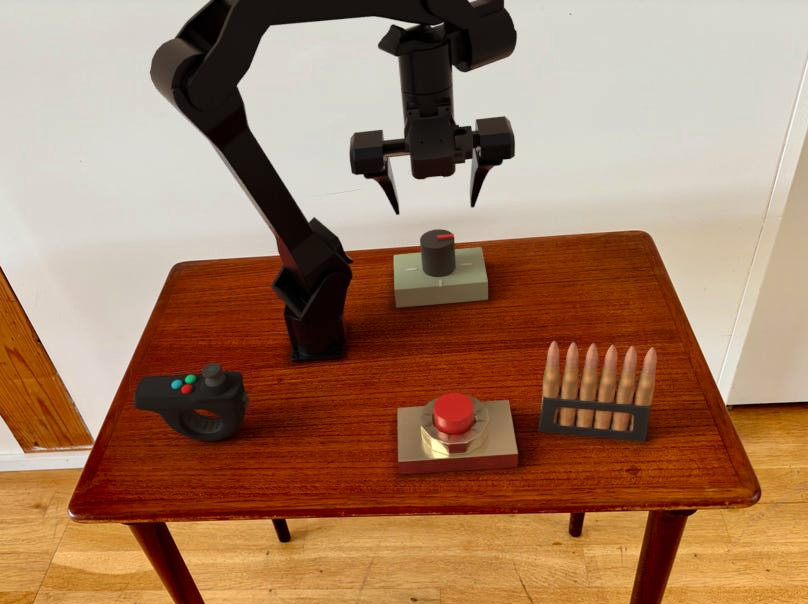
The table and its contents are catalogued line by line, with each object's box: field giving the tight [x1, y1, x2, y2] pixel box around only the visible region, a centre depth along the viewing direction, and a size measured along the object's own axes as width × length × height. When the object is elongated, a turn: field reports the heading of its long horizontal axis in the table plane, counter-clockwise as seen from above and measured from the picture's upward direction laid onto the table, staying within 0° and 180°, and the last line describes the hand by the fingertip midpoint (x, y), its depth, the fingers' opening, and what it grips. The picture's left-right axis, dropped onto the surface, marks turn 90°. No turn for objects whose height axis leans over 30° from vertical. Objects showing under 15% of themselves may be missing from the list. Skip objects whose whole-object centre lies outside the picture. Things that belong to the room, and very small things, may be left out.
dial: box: [419, 228, 456, 277], centre depth 92 cm, size 4×4×5 cm
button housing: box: [396, 394, 519, 476], centre depth 74 cm, size 12×8×4 cm, turn 89°
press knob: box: [434, 392, 474, 435], centre depth 72 cm, size 4×4×2 cm
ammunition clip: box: [538, 340, 658, 442], centre depth 70 cm, size 11×2×12 cm, turn 76°
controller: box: [133, 362, 250, 442], centre depth 78 cm, size 4×12×10 cm, turn 85°
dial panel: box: [393, 246, 489, 309], centre depth 95 cm, size 12×9×3 cm
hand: (434, 209), depth 88 cm, fingers open, 9 cm apart
